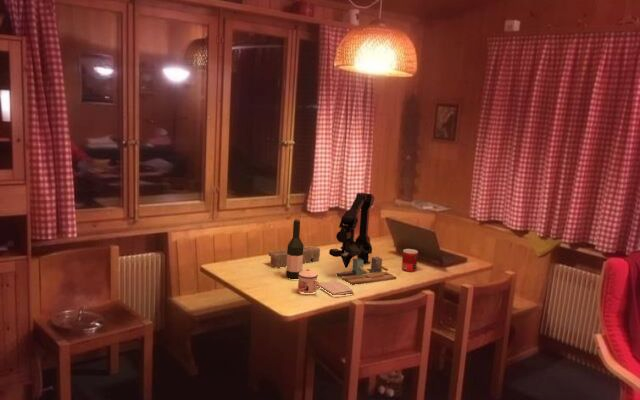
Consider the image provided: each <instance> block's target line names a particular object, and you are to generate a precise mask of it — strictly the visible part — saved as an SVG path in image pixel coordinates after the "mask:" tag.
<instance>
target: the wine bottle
mask: <svg viewBox="0 0 640 400" xmlns="http://www.w3.org/2000/svg"><path fill="white" fill-rule="evenodd" d="M292 226H293V228H292V238H291V240H290V241H289V242H288V244H287V248H286V249H287V267H285V270H286V272H285V278H286V277H288V278H290V279H299V275H298V274H299V272H301V271H303V265H304V264H303V247H304V244H303V242H302V239H301V238H300V235H301V234H300V231H301V221H300V219H299V218H295V219H294V220H293V225H292Z"/></svg>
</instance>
